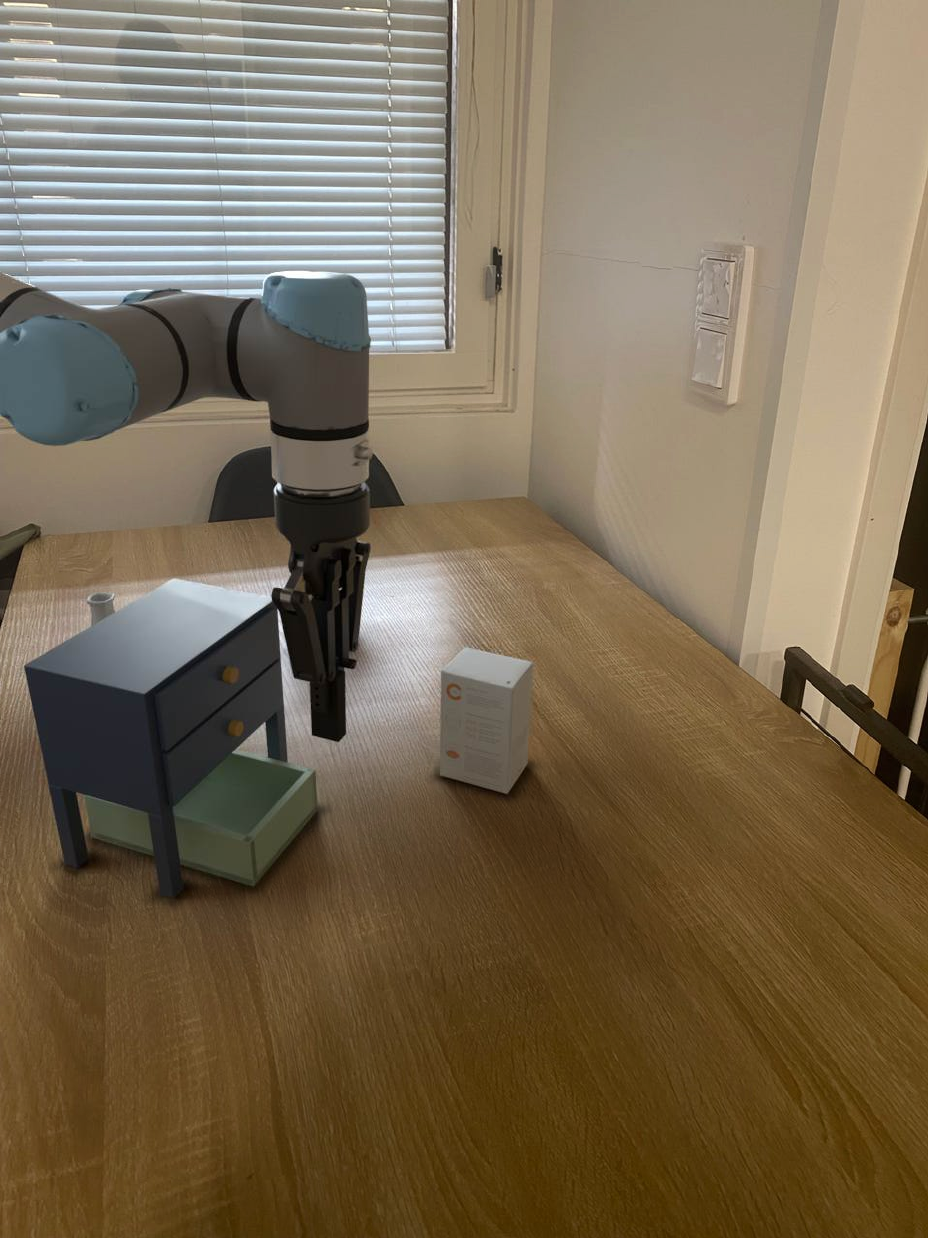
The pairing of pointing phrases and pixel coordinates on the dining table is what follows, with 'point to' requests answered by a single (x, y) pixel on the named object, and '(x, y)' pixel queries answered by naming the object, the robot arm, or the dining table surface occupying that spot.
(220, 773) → the storage tub
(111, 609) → the flask
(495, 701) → the small box
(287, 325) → the robot arm
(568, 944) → the dining table surface
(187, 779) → the drawer cabinet
